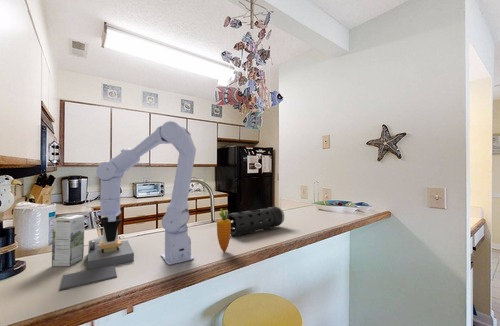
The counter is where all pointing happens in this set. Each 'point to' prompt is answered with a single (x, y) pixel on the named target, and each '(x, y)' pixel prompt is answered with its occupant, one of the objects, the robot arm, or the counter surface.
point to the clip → (95, 242)
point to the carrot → (223, 230)
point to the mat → (88, 277)
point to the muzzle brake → (255, 220)
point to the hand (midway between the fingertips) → (110, 239)
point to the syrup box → (68, 240)
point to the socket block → (110, 256)
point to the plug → (110, 243)
